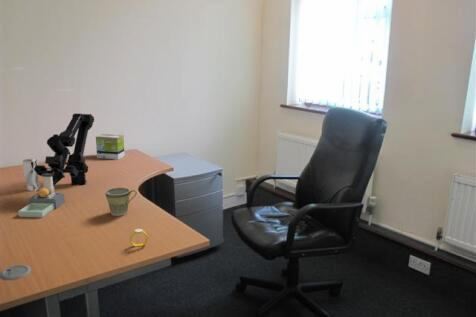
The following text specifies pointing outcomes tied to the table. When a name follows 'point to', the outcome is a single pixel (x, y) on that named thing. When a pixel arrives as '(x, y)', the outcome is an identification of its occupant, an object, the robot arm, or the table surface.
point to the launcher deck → (49, 199)
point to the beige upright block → (48, 182)
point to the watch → (138, 233)
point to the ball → (43, 192)
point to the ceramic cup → (118, 200)
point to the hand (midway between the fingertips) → (51, 187)
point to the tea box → (110, 146)
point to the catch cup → (36, 210)
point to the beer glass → (31, 174)
